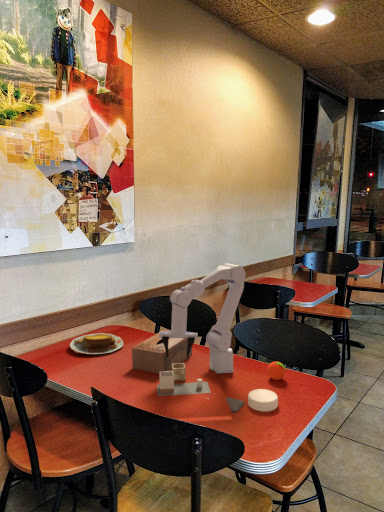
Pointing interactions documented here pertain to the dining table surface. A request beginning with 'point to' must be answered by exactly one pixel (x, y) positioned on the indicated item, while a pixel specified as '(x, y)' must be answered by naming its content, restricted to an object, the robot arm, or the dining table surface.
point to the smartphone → (234, 404)
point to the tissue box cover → (159, 354)
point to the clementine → (276, 370)
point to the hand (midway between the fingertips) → (177, 356)
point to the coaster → (263, 400)
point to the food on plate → (96, 343)
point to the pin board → (187, 388)
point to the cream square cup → (166, 381)
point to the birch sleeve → (179, 371)
